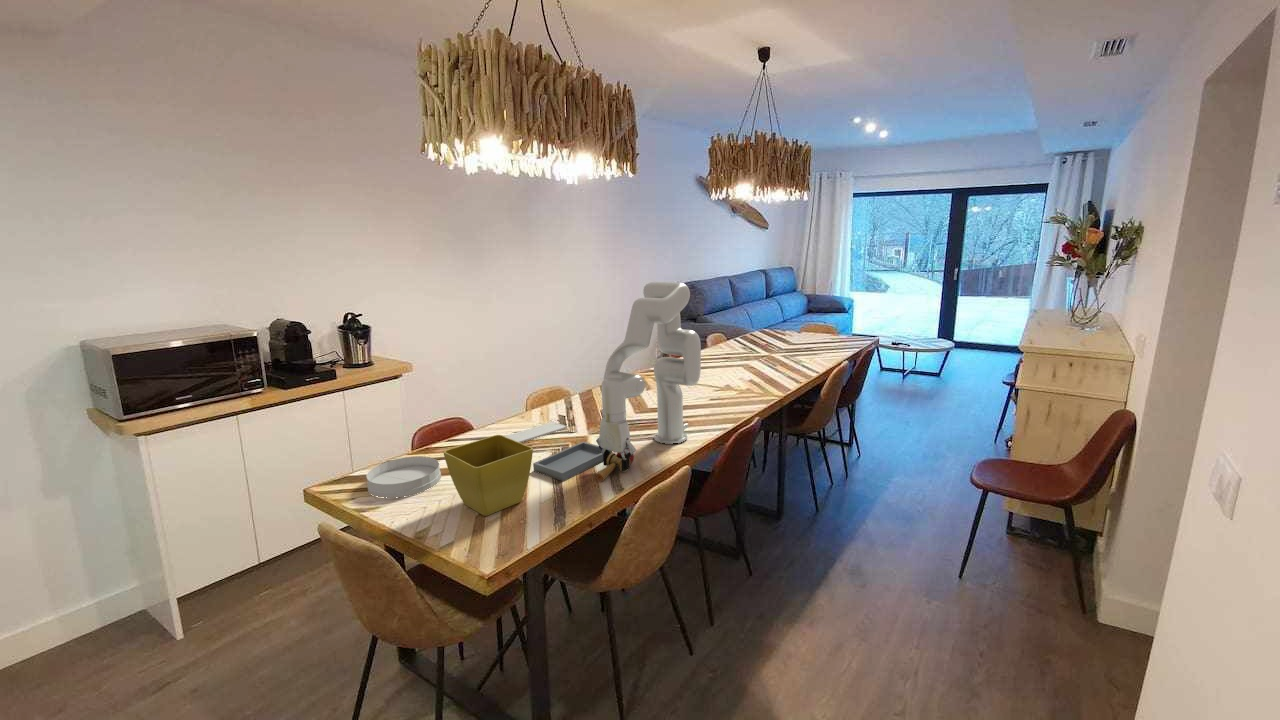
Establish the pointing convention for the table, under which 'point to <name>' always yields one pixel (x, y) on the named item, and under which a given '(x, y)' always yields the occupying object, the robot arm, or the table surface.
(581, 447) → the cradle tray
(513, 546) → the table surface
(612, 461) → the kendama
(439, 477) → the dish
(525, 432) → the baseboard
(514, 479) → the flower pot
